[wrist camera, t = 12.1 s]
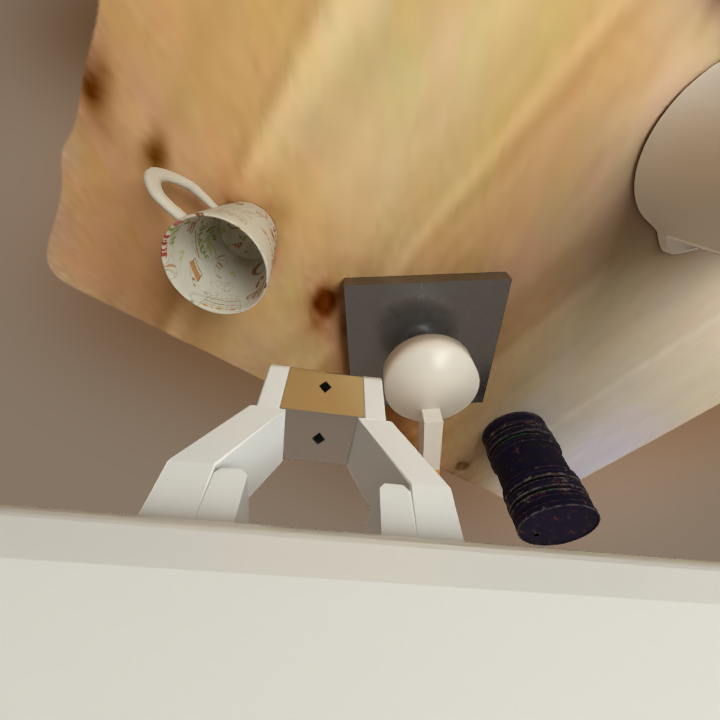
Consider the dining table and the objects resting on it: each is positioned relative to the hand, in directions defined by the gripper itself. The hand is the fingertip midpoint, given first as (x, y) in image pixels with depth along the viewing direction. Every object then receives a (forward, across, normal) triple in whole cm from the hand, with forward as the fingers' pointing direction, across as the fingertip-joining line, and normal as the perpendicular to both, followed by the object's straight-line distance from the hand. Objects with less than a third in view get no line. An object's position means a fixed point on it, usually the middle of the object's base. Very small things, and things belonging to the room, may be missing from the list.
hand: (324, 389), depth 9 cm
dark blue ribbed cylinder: (+29, -31, +30) cm, 52 cm away
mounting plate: (+29, -12, +16) cm, 35 cm away
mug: (+29, +11, +4) cm, 32 cm away
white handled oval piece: (+23, -13, +20) cm, 33 cm away
